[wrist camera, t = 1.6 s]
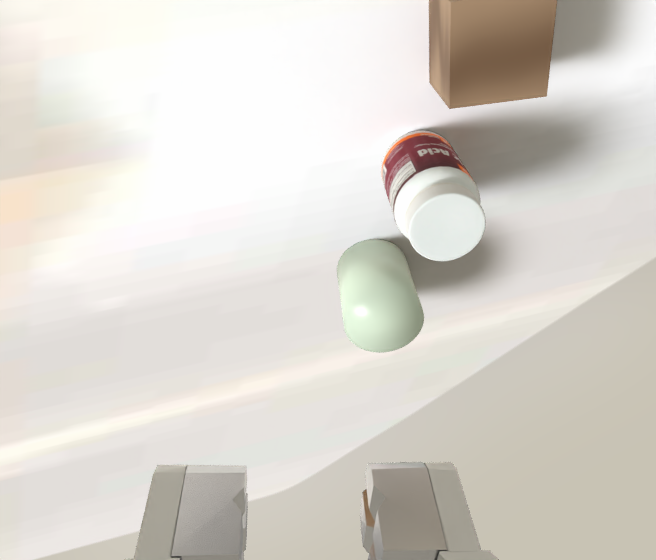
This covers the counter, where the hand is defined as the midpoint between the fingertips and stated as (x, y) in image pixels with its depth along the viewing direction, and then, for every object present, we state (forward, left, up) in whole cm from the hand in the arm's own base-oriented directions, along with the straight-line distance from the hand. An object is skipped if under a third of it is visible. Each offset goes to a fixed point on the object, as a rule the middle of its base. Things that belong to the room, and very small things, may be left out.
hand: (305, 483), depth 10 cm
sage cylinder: (+13, +6, -27) cm, 31 cm away
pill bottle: (+5, +8, -27) cm, 29 cm away
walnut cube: (-3, +10, -27) cm, 29 cm away
